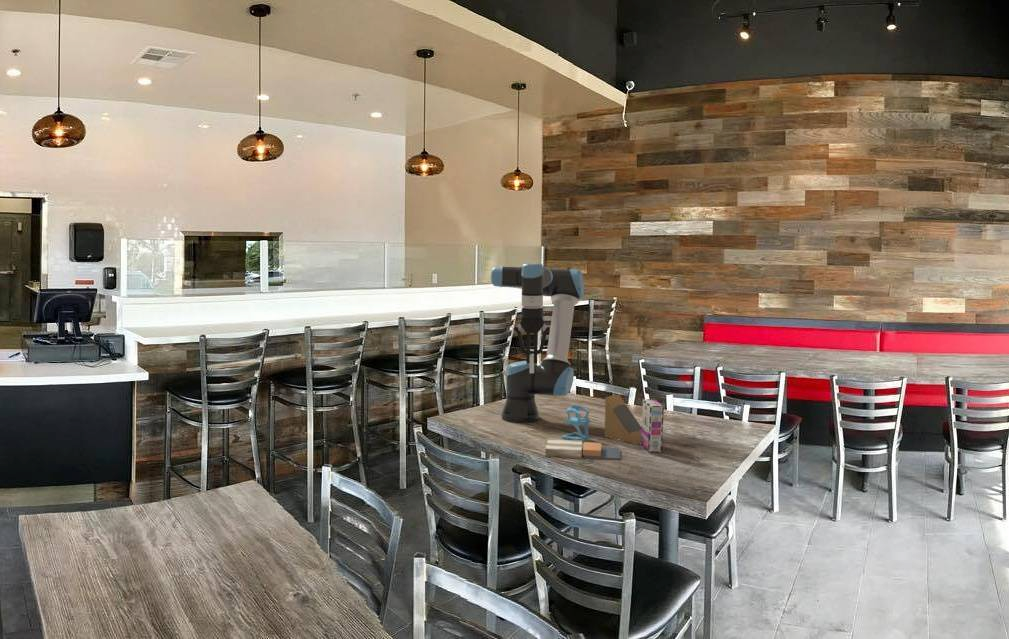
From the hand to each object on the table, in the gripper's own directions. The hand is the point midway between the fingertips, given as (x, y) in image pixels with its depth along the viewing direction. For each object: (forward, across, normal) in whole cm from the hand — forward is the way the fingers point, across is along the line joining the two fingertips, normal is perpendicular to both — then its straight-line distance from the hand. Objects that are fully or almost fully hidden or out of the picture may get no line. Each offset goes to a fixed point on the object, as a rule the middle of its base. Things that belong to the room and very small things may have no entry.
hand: (531, 372), depth 248 cm
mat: (+25, +25, -13) cm, 38 cm away
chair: (+26, +17, +4) cm, 31 cm away
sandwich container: (+26, +35, +7) cm, 44 cm away
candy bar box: (+25, +42, -5) cm, 50 cm away
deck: (+25, +12, -13) cm, 30 cm away
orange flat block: (+24, +22, -14) cm, 35 cm away
